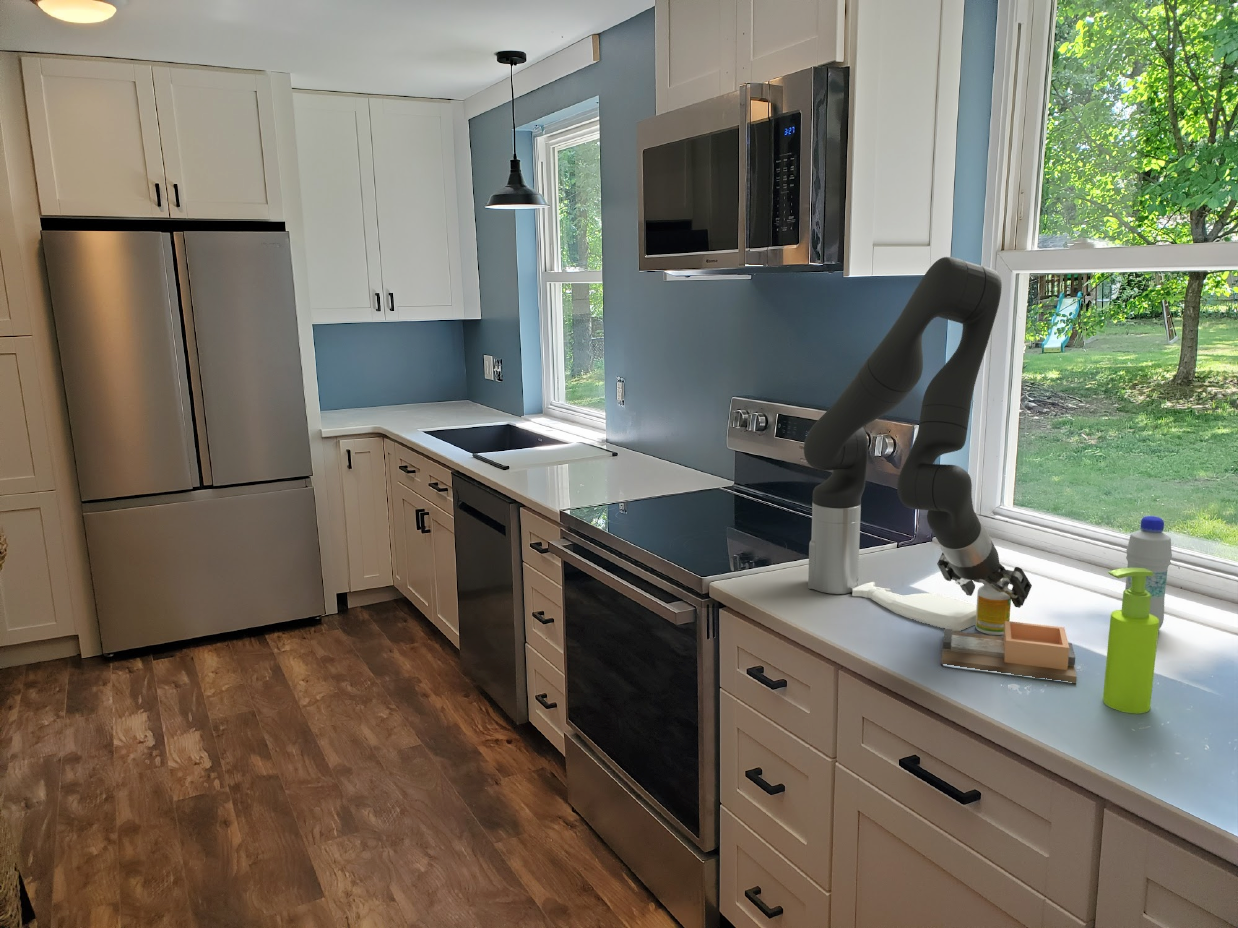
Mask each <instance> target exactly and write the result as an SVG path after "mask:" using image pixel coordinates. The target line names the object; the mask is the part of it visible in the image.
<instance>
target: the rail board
mask: <svg viewBox="0 0 1238 928" xmlns="http://www.w3.org/2000/svg"><path fill="white" fill-rule="evenodd" d="M952 635H958V636H966V637H975V638H983V639H992V640H1000V641H1003V637H1004V636H1000V635H989V634H982V633H981V634H980V633H973V632H963V631H952ZM941 664H947V665H954V666H960V667H967V668H975V669H980V670H988V671H997V672H1001V673H1011V674H1014V675H1022V676H1032V677H1035V678H1045V679H1046V678H1047V679H1052V680H1061V681H1068V682H1072V683H1076V684H1077V679H1078V675H1077V672H1076V668H1075V665H1074V666H1068V669H1067V670H1062V669H1054V668H1046V667H1038V666H1031V665H1023V664H1015V663H1007V662H1004V658H1002V657H994V656H986V655H978V654H970V653H962V652H954V651H946V650H943V649H942V654H941Z"/></svg>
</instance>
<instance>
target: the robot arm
mask: <svg viewBox="0 0 1238 928" xmlns="http://www.w3.org/2000/svg"><path fill="white" fill-rule="evenodd" d="M1002 286H1003V285H1002V279H1001V276H1000V274H999V273H998V272H997V270H995V269H992V268H989V267H987V266H984V265H981V264H976V263H974V262H970V261H966V260H963V259H961V258H957V257H952V256H944V257H943V256H942V257H941V258H939V259H938V260H936V261H935V262H934V263H932V264H931V266H930V267H929V268H928V270H926V272H925V274H924V275H923V277H922V278H921V280H920V282H919V283H918V285H917V286H916V288H915V290H914V291H913V292H912V295H911V296H910V298H909V299H908V301H907V303H906V304H905V306H904V308H903V310H902V311H901V313H900V315H899V316H898V318H897V319H896V321H895V322H894V324H893V325H892V326H891V328H890V329H889V330H888V332H887V333H886V335H885V336H884V337H883V339H882V340H881V341H880V343H879V344H878V345H877V346H876V348H875V349H874V351H873V352H872V353H871V354H870V355H869V357H868V358H867V359H866V360H865V362H864V363H863V364H862V366H861V367H860V369H859V371H858V372H857V373H856V375H855V376H854V378H852V380H851V382H850V383H849V384H847V387H845V389H844V390H843V392H842V393H841V395H839V397H838V399H837V400H836V401H835V402H834V403H833V404H832V405H831V406H830V408H828V409H827V410H826V411H825V412H824V414H823V415H822V416H821V417H820V418H819V419H818V420H816V421H815V423H814V424H813V425H812V426H811V427H810V429H809V430H808V432H807V435H806V437H805V440H804V444H803V454H804V458H805V460H806V463H807V464H808V465H809V466H810V467H812V468H813V469H816V470H819V471H832V473H831V474H830V476H829V477H828V478H827V479H826V480H825V481H823V482H821V483H820V484H818V485H816V486H815V487H814V488H813V490H812V503H811V504H812V510H811V511H812V513H811V515H812V516H811V539H810V541H809V545H808V579H807V580H808V581H807V583H808V584H807V588H808V589H809V590H815V591H817V592H821V593H824V594H826V593H827V594H833V595H834V594H835V595H840V594H841V595H844V594H849V593H851V594H852V590H853V588H855V587H858V586H859V585H858V584H859V568H860V567H859V564H860V563H859V562H860V561H859V560H860V537H861V533H860V532H861V513H862V511H861V510H862V507H861V506H862V496H863V493H864V491H865V488H866V482H867V481H866V478H867V471H868V470H867V467H868V459H869V441H868V435H867V433H866V430H865V428H864V427H865V426H867V425H868V424H871V423H872V422H874V421H876V420H878V419H880V417H881V418H882V417H883V416H885V415H886V414H888V413H890V412H891V411H892V410H893V409H895V408H896V407H898V405H900V404H901V403H902V402H903V401H904V400H905V398H906V397H907V396H908V395H910V393H911V391H912V390H913V389H914V388H915V387H916V385H917V384H918V382H919V381H920V379H921V377H922V374H923V371H924V370H923V369H924V356H923V355H924V354H923V345H922V344H923V343H922V342H923V341H922V340H923V333H924V332H925V330H926V328H927V327H928V325H929V324H930V323H931V322H932V320H934V319H936V318H941V319H944V320H949V321H951V322H955V323H960V324H961V325H962V331H961V332H962V333H961V338H960V341H959V344H958V346H957V347H956V349H955V352H954V353H952V355H951V357H950V358H949V359H948V361H947V362H946V363H945V364H944V365H943V366H942V367H941V368H940V369H939V371H938V372H937V373H935V376H934V377H933V378H932V380H930V381H929V384H928V385H927V388H926V390H925V392H924V395H923V397H922V402H921V410H920V416H919V423H918V430H917V433H916V437H915V440H914V441H913V443H912V446H911V448H910V450H909V453H908V455H907V458H906V459H905V460H904V464H903V466H902V467H901V470H900V472H899V475H898V479H897V483H896V484H897V485H896V490H897V495H898V498H899V500H900V502H901V503H902V505H903V506H904V507H906V508H907V509H910V510H911V509H912V510H920V511H927V514H926V520H927V524H928V526H929V528H930V530H931V531H932V532H931V533H933V535H934V537H935V539H936V540H937V542H938V545H939V548H940V551H941V552H942V553H941V555H940V557H939V559H938V561H937V564H936V565H937V566H938V568H939V570H940V572H941V575H942V576H943V578H944V580H945V581H948V582H952V581H954V583H955V584H957V585H958V586H959V587H960V588H961V590H962V591H963V592H964V593H965V595H967V596H970V597H971V596H972V595H973V594H974V592H975V589H976V584H975V583H978V584H979V583H981V584H983V583H984V584H985V585H989V586H990V587H992V588H993V589H995V590H996V591H998V592H1004V593H1006V594H1007V595H1009V596H1010V598H1011V603H1012V604H1013V606H1014V607H1015V608H1021V607H1022V606H1024V604H1025V601H1026V600H1027V598H1028V595H1029V594H1030V591H1031V588H1032V587H1033V585H1032V583H1031V581H1030V580H1029V578H1028V577H1027V575H1026V574H1025V572H1024V570H1023V569H1022V567H1019V566H1015V567H1014V568H1013V570H1010V569H1006V567H1004V566H1003V564H1001V563H1000V558H999V552H998V550H997V549H996V546H995V545H994V543H993V540H992V539H991V537H990V535H989V533H988V531H987V530H986V527H985V526H984V524H982V522H981V521H980V519H979V518H978V516H977V513H976V512H975V510H974V505H973V498H972V491H973V490H972V489H973V488H972V487H973V485H972V478H971V475H970V474H969V473H968V472H967V470H965V469H964V468H963V467H961V466H959V465H956V464H940V463H939V464H938V463H936V464H935V463H934V462H935V461H936V460H937V459H938V458H939V457H940V456H942V455H945V454H950V453H953V452H957V451H961V450H962V449H963V448H964V446H965V444H966V440H967V435H968V430H969V429H968V428H969V421H970V414H971V406H972V400H973V395H974V389H975V386H976V382H977V377H978V374H979V372H980V369H981V366H982V362H983V360H984V359H983V358H984V357H985V353H986V350H987V347H988V345H989V344H988V343H989V339H990V337H991V333H992V331H993V330H992V329H993V326H994V323H995V319H996V317H997V313H998V309H999V306H1000V302H1001V296H1002V289H1003V288H1002ZM1002 578H1003V579H1002ZM1001 579H1002V581H1001V584H1000V585H998V584H997V582H999V581H1000V580H1001ZM984 584H983V585H984ZM1010 585H1011V586H1012V588H1009V586H1010Z"/></svg>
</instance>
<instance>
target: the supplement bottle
mask: <svg viewBox="0 0 1238 928" xmlns="http://www.w3.org/2000/svg"><path fill="white" fill-rule="evenodd" d="M1002 579H1003V578H1002ZM1002 579H1001V580H1000V581H999V582H997V584H998V585H1000V584H1001V581H1002ZM982 584H983V585H981V586H979V587H978V590H977V595H976V596H977V597H976V605H977V608H976V625H974V626H975V629H976V630H977V631H978V632H980V633H981V634H982V633H983V634H984V635H991V636H1004V623H1005V621H1010V619H1011V605H1012V600H1011V598H1010V596H1009V595H1007V594H1006V593H1004V592H998V591H996V590H995V589H993V588H992V587H990V586H989V585H985V584H984V583H982Z"/></svg>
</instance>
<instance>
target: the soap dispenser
mask: <svg viewBox="0 0 1238 928" xmlns="http://www.w3.org/2000/svg"><path fill="white" fill-rule="evenodd" d="M1108 574H1109V575H1111V576H1112V577H1114V578H1116V579H1122V578H1126V577H1128V576H1132V580H1131V588H1129V589H1126V590H1125V589H1124V590H1123V592H1122V601H1121V609H1118V610H1117V609H1116V610H1113V611H1112V612H1111V613H1110V621H1109V629H1108V641H1107V649H1106V650H1107V652H1106V662H1105V673H1104V683H1103V684H1104V685H1103V693H1102V694H1103V696H1102V702H1103V701H1104V702H1103V703H1104V704H1105V705H1106V704H1107V705H1106V706H1107V707H1109V708H1111V709H1113V710H1115V709H1116V711H1118V710H1119V712H1121V713H1122V712H1123V713H1128V714H1134V715H1135V714H1136V715H1137V714H1138V715H1139V714H1145V713H1148V712H1149V711H1150V710H1151V704H1152V693H1153V684H1154V674H1155V666H1156V655H1157V647H1158V637H1159V630H1160V629H1159V619H1158V618H1157V617H1155V616H1153V615H1151V614H1149V613H1150V603H1151V594H1150V593H1149V592H1147V591H1146V590H1145V582H1146V576H1153V572H1151V571H1149V570H1147V569H1145V568H1127V567H1121V568H1115V569H1113V570H1109V571H1108ZM1158 629H1159V630H1158Z"/></svg>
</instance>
